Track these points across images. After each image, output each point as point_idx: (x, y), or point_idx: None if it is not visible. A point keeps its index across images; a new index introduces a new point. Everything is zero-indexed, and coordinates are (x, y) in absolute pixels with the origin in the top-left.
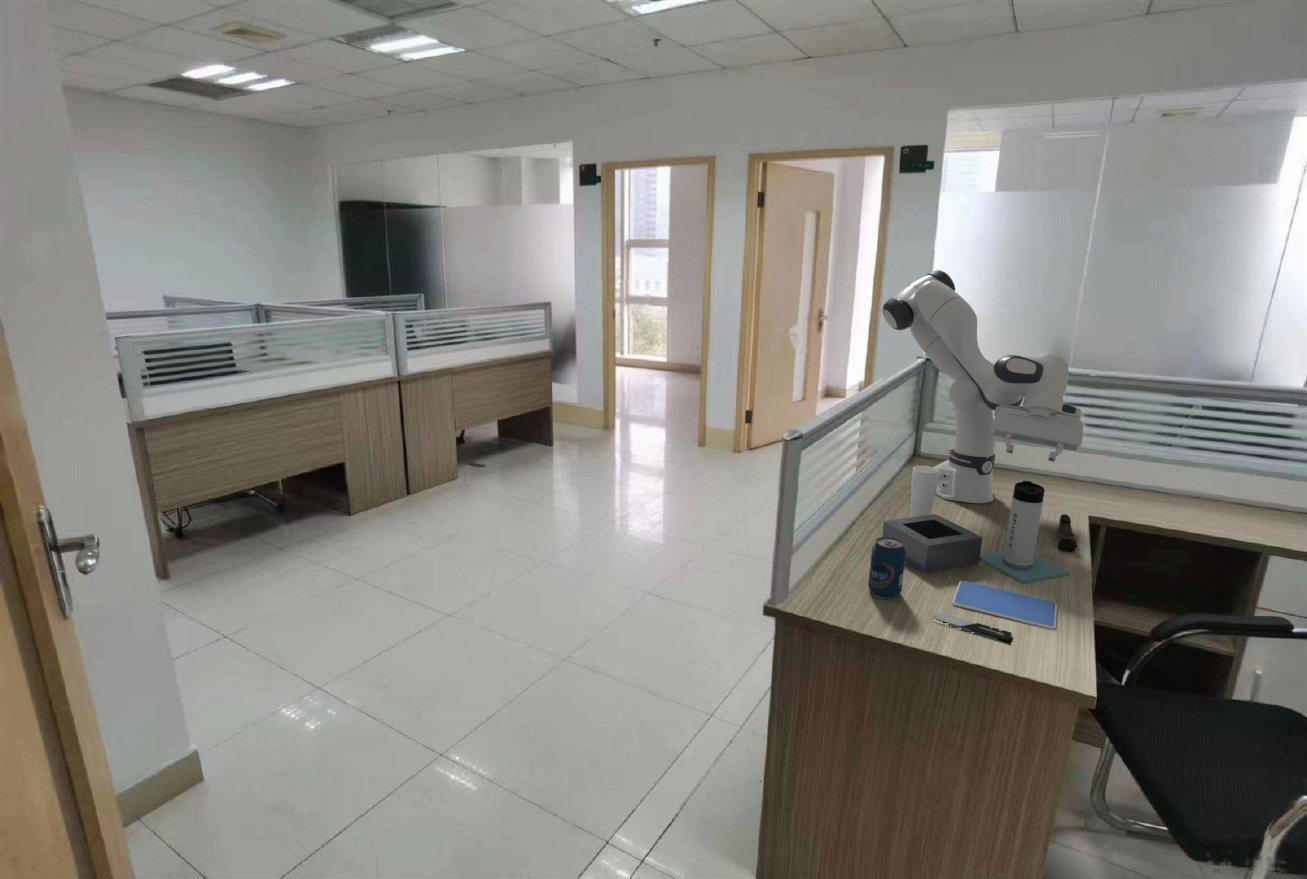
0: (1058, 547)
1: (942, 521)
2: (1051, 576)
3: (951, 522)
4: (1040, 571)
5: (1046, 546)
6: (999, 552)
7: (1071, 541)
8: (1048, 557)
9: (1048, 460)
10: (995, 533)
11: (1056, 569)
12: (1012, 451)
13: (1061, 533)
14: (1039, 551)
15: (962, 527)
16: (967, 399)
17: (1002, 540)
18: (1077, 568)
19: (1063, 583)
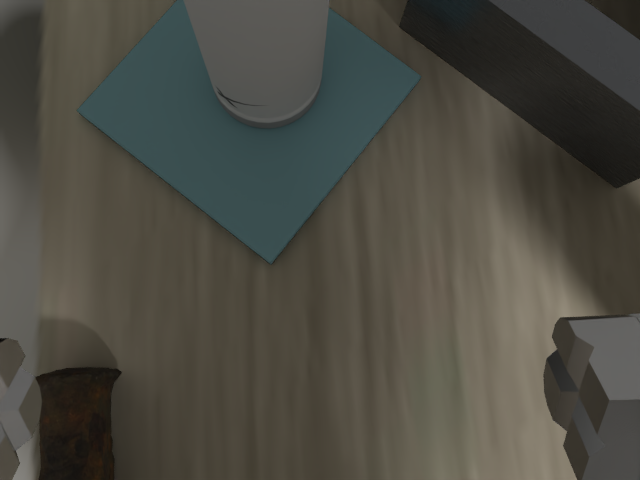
0: (116, 369)
1: (635, 60)
2: (141, 41)
3: (594, 70)
4: (181, 55)
5: (169, 392)
6: (345, 165)
7: (50, 374)
8: (157, 256)
9: (34, 384)
10: (394, 430)
11: (124, 109)
12: (559, 322)
13: (95, 475)
14: (195, 307)
15: (532, 31)
16: None
17: (353, 352)
18: (47, 199)
19: (101, 19)
